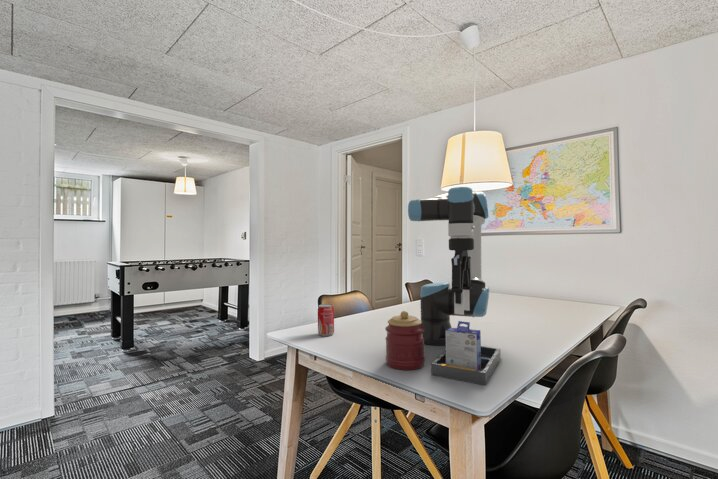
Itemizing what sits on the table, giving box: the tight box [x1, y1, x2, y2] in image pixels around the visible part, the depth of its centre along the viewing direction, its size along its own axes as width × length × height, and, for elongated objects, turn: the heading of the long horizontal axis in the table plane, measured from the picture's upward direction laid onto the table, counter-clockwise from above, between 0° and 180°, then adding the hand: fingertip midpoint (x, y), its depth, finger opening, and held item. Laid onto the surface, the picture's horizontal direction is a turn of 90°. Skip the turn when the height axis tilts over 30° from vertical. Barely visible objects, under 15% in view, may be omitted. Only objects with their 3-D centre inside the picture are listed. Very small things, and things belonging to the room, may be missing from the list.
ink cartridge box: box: [445, 320, 482, 371], centre depth 111 cm, size 10×6×14 cm, turn 60°
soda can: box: [317, 303, 335, 337], centre depth 157 cm, size 7×7×13 cm
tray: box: [430, 345, 502, 386], centre depth 116 cm, size 16×25×4 cm, turn 149°
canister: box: [385, 310, 426, 371], centre depth 120 cm, size 13×13×18 cm
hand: (462, 311), depth 111 cm, fingers open, 6 cm apart
